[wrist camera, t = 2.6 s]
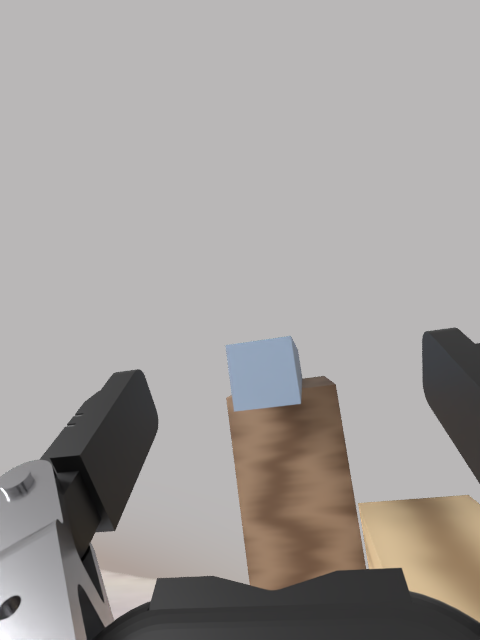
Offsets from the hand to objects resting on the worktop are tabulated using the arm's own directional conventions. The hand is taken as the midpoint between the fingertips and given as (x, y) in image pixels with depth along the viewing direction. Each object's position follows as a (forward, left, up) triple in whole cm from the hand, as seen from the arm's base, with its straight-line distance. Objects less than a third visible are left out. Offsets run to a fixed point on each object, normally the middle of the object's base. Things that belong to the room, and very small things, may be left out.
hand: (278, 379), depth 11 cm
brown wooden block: (+2, -32, -34) cm, 47 cm away
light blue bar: (+2, -26, -2) cm, 26 cm away
